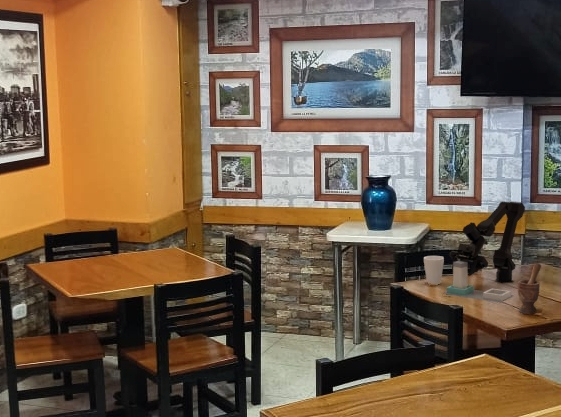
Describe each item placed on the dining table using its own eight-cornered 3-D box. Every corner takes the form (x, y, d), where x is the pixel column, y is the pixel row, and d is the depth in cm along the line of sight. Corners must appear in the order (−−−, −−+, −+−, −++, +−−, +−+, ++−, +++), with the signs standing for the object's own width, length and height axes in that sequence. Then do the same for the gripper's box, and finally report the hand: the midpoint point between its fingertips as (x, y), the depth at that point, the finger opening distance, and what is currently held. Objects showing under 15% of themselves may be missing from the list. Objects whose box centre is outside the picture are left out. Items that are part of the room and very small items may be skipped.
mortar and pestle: (521, 306, 348) (522, 261, 345) (542, 308, 344) (543, 262, 341) (515, 313, 338) (516, 266, 335) (536, 316, 334) (537, 268, 331)
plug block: (459, 290, 375) (459, 260, 372) (467, 291, 371) (467, 262, 369) (453, 291, 372) (453, 262, 370) (461, 293, 368) (461, 263, 366)
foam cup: (442, 281, 395) (442, 255, 393) (444, 286, 386) (444, 259, 384) (423, 281, 396) (423, 255, 394) (424, 286, 387) (424, 260, 385)
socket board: (442, 295, 370) (442, 288, 369) (457, 289, 380) (457, 282, 380) (500, 304, 352) (501, 297, 351) (514, 297, 363) (514, 290, 362)
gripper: (451, 233, 378) (436, 261, 373) (484, 239, 364) (468, 267, 359) (462, 247, 384) (447, 274, 379) (495, 253, 370) (479, 281, 365)
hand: (460, 274), depth 370 cm, fingers open, 9 cm apart
